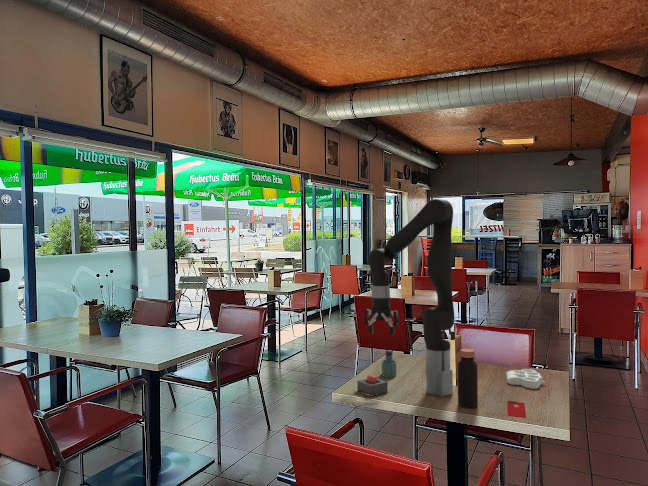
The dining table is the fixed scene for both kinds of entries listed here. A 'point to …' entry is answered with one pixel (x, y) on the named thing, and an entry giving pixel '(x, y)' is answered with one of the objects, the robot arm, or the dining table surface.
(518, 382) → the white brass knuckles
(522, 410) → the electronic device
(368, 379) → the button
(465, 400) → the bottle
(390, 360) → the marker
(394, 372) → the pen cup
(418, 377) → the dining table surface
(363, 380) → the button console
